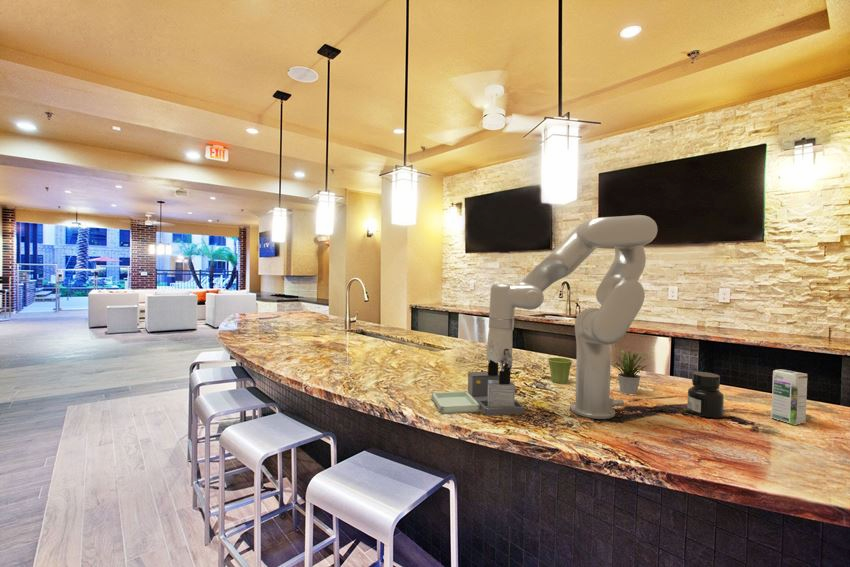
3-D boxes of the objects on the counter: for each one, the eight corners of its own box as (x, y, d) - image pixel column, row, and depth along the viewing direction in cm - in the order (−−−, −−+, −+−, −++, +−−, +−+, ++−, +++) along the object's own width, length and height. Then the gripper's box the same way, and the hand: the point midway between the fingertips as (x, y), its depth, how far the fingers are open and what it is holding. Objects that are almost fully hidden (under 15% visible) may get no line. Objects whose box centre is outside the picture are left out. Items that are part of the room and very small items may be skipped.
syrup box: (770, 418, 114) (771, 370, 114) (782, 416, 116) (783, 368, 116) (794, 426, 109) (796, 374, 108) (806, 423, 111) (808, 373, 110)
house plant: (665, 397, 133) (666, 350, 132) (636, 401, 128) (637, 352, 127) (629, 386, 146) (630, 343, 146) (601, 389, 141) (603, 345, 141)
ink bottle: (685, 406, 124) (686, 369, 124) (719, 411, 120) (720, 372, 120) (689, 415, 116) (690, 376, 115) (726, 421, 111) (727, 380, 111)
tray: (466, 397, 130) (466, 391, 130) (479, 411, 116) (479, 405, 116) (431, 398, 128) (431, 392, 128) (440, 413, 114) (441, 406, 114)
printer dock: (500, 392, 136) (500, 371, 136) (525, 413, 115) (526, 388, 115) (465, 394, 134) (465, 372, 133) (485, 415, 113) (486, 389, 113)
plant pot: (542, 379, 154) (542, 357, 154) (562, 377, 157) (562, 356, 157) (556, 385, 146) (557, 362, 145) (577, 384, 148) (578, 361, 148)
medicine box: (512, 407, 120) (513, 380, 120) (514, 413, 116) (515, 384, 116) (487, 406, 121) (487, 379, 121) (488, 411, 117) (488, 383, 117)
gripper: (480, 320, 126) (477, 372, 126) (500, 327, 109) (496, 388, 109) (502, 320, 127) (499, 372, 128) (525, 328, 110) (521, 388, 111)
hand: (498, 379), depth 118 cm, fingers open, 9 cm apart
